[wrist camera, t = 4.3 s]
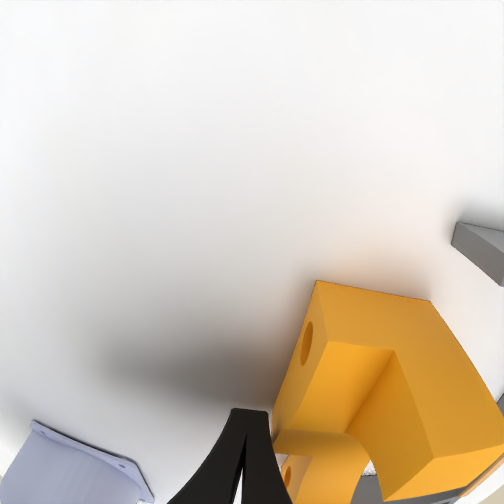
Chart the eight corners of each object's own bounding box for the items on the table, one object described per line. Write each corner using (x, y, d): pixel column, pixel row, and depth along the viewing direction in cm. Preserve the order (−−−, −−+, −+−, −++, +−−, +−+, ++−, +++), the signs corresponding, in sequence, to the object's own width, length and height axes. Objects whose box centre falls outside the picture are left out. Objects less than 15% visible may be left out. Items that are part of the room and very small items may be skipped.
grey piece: (303, 514, 17) (301, 569, 12) (437, 218, 8) (553, 306, 3) (409, 504, 17) (417, 552, 11) (577, 250, 8) (647, 304, 3)
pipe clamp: (315, 278, 10) (345, 463, 4) (428, 299, 10) (515, 440, 4) (250, 462, 14) (236, 561, 8) (324, 469, 14) (326, 564, 8)
